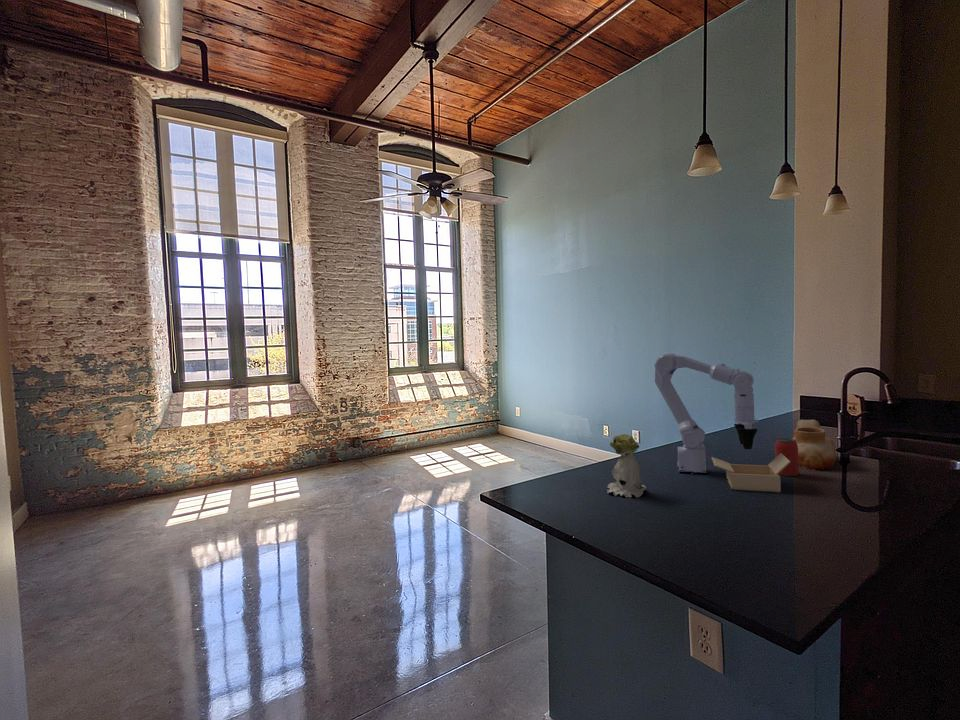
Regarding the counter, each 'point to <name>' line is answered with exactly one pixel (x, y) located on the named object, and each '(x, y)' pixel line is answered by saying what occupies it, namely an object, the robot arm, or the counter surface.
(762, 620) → the counter surface
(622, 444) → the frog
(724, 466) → the flap
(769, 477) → the cardboard box
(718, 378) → the robot arm
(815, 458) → the ceramic vessel
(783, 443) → the beer can
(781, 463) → the flap
